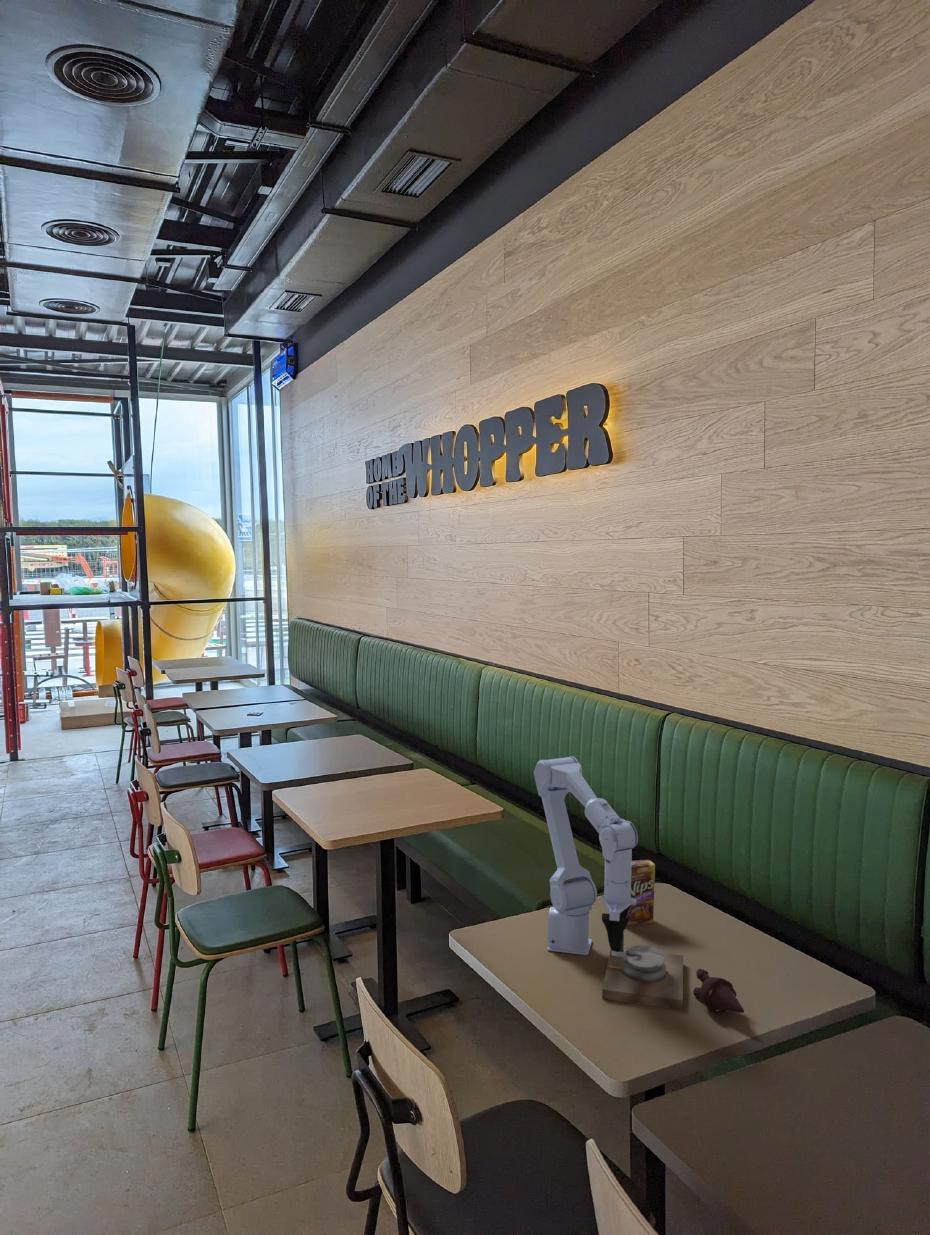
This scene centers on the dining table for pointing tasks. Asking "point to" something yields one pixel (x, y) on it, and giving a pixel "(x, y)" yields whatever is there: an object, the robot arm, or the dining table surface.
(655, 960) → the grey disc with handle
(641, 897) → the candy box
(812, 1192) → the dining table surface
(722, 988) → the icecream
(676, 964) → the lock base
